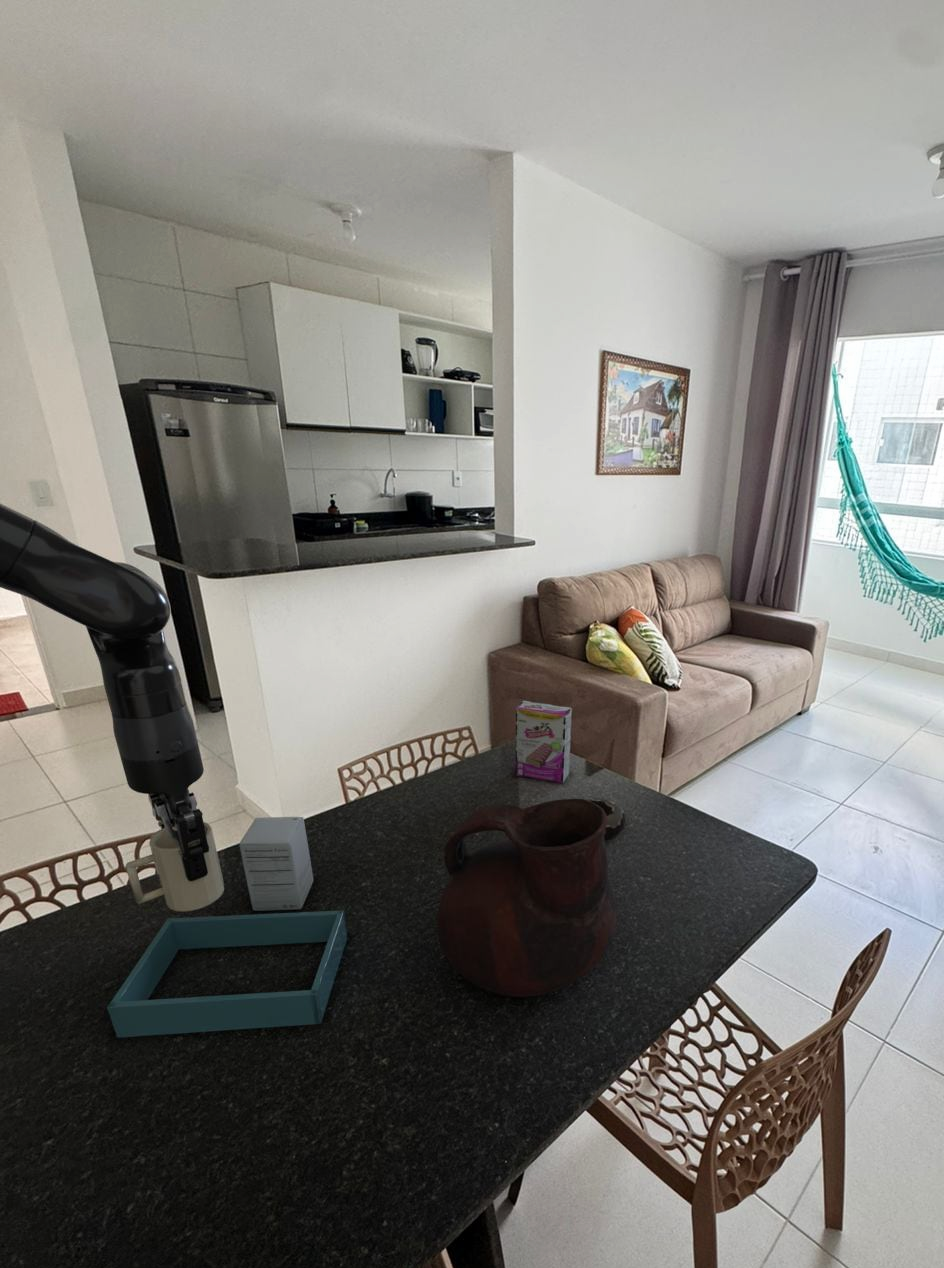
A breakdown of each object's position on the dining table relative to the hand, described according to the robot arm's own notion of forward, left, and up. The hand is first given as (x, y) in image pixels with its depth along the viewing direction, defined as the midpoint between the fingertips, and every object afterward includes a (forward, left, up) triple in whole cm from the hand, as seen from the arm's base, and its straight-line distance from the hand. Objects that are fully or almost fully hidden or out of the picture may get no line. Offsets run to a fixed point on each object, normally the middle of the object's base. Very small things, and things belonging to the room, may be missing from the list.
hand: (188, 863), depth 82 cm
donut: (+56, +34, -19) cm, 68 cm away
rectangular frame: (+4, -1, -19) cm, 19 cm away
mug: (-1, -1, -5) cm, 5 cm away
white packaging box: (+4, +17, -19) cm, 26 cm away
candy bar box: (+47, +55, -19) cm, 75 cm away
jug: (+42, +1, -19) cm, 46 cm away
